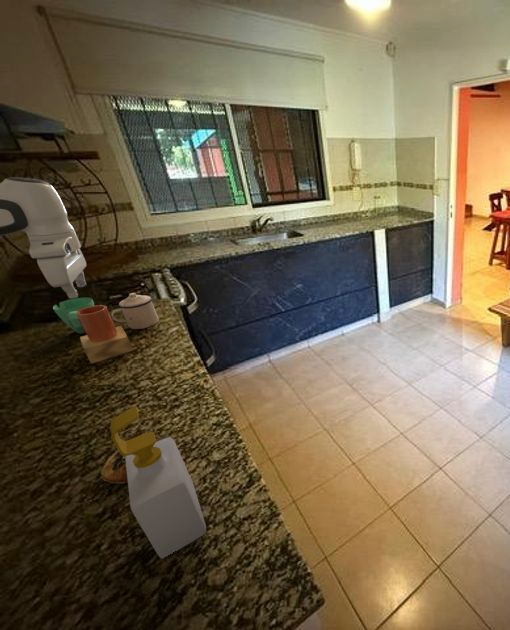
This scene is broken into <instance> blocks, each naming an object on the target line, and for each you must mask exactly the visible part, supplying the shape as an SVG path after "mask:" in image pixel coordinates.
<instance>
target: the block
mask: <svg viewBox="0 0 510 630" xmlns="http://www.w3.org/2000/svg"><path fill="white" fill-rule="evenodd" d="M115 327H116V330H117V332H118V334H117V335H116V336H115V337H113V338H111V339H108V340H105V341H101V342H91V341H90V340H89V339H88V337H87V335H86V334H85V335H82V336H80V337H79V339H80V342H81V345H82V348H83V351H84V353H85V355H86V357H87V359H88V361H89V363H90V364H95V363H98V362H101V361H105V360H108V359H110V358H114V357H117V356H120V355H124V354H127V353H130V352H133V351H134V348H133V346H132V343H131V342H130V339H129V337H128V335H127V333H126V332H125V330H124V328H123V326H122V325H119V326H115Z"/></svg>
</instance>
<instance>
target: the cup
mask: <svg viewBox="0 0 510 630" xmlns="http://www.w3.org/2000/svg"><path fill="white" fill-rule="evenodd" d="M76 315H77V317H78V319H79V321H80V323H81V325H82V327H83V329H84V331H85V333H84V334H85V336H86V335H87V337H88V339H89V340H90V341H91V342H101V341H105V340H108V339H111V338H113V337H115V336H116V335H117V334H118V332H117V330H116V327H117V326H116V325H115V323H114V321H113V318H112V316H111V315H110V311H109V310H108V307H107V306H106V305H103V304H98V305H94V306H90V307H86V308H83V309H81V310H79V311H77V312H76Z"/></svg>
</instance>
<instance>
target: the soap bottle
mask: <svg viewBox="0 0 510 630" xmlns="http://www.w3.org/2000/svg"><path fill="white" fill-rule="evenodd" d="M139 413H140V412H139V408H138V407H137V406H136V405H134V406H131V407H130V408H128V409H127V410H125V411H123V412H121V413H120V414H118V415H117V416H115V417H114V418H113V419H112V420H111V421H110V437H111V440H112V442H113V444H114V446H115V447H116V449H117V450H118V451H119V453H120V454H121V455H122V456H126V458H125V460H126V470H127V479H128V483H127V488H128V496H129V497H128V498H129V505H130V506H129V507H130V511H131V512H132V514H133V515H134V517H135V519H136V520H137V522H138V524H139V526H140V528H141V529H142V530H143V532H144V534H145V536H146V538H147V539H148V541H149V542H150V544H151V546H152V548H153V549H154V551H155V553H156V554H157V556H158V557H159V558H160V559H162V558H163V559H165V558H164V557H166V556H167V557H169V556H171V555H172V554H174V553H176V552H177V551H180V550H181V549H182V548H184V547H186V546H187V545H190V544H191V543H192V542H194V541H196V540H198V539H199V538H201V537H203V536H204V535H205V534H206V533H207V525H206V521H205V518H204V515H203V511H202V508H201V505H200V501H199V498H198V494H197V492H196V488H195V484H194V482H193V479H192V477H191V475H190V473H189V471H188V469H187V466H186V464H185V461H184V459H183V457H182V455H181V452H180V450H179V448H178V446H177V443H176V442H175V440H174V439H173V438H172V437H171V436H169V437H166V438H163V440H161V441H158V442H156V438H155V435H156V434H155V431H151V430H150V431H147V432H145V433H143V434H140V435H138V436H134V437H133V438H130V439H127V440H124V439H122V437H120V434H119V432H120V431H122V430H123V429H124V428H127V427H128V426H129V425H130V424H133V423H134V422H135V421H137V420H138V419H139V417H140V414H139ZM175 551H176V552H175ZM173 552H174V553H173ZM170 554H171V555H170ZM168 555H169V556H168ZM167 557H166V558H167ZM163 559H162V560H163Z"/></svg>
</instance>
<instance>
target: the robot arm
mask: <svg viewBox="0 0 510 630" xmlns="http://www.w3.org/2000/svg"><path fill="white" fill-rule="evenodd" d="M16 232H24V233H26V235H27V238H28V240H29V244H30V245H29V249H28V252H29V253H28V254H29V255H30V257H31V258H32V259H36V262H37V265H38V268H39V270H40V271H41V273H42V275H43V276H44V278H45V280H46V281H47V283H48V284H49V285H50V286H51V287H53V288H61V289H62V290H63V291H64V292H65V293H66V295H67V297H68V299H76V298H79V292H78V290H77V289H76V288H75V286H74V282H75V284H76V287H77V288H84V287H86V286H87V282H86V279H85V273H84V270H85V268H86V267H87V265H88V264H87V261H86V259H85V256H84V254H83V252H82V250H81V247H82V243H81V242H80V240H79V237H78V235H77V233H76V231H75V228H74V227H73V225H71V223H70V221H69V219H68V212H67V210H66V208H65V205H64V203H63V201H62V199H61V197H60V195H59V193H58V192H57V190H56V189H55V188H54V187H53V185H52V184H50V183H49V182H47V181H45V180H43V179H39V178H33V177H18V176H10V177H6V178H5V179H3V181H2V182H0V237H1V236H6V235H9V234H13V233H16Z"/></svg>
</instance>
